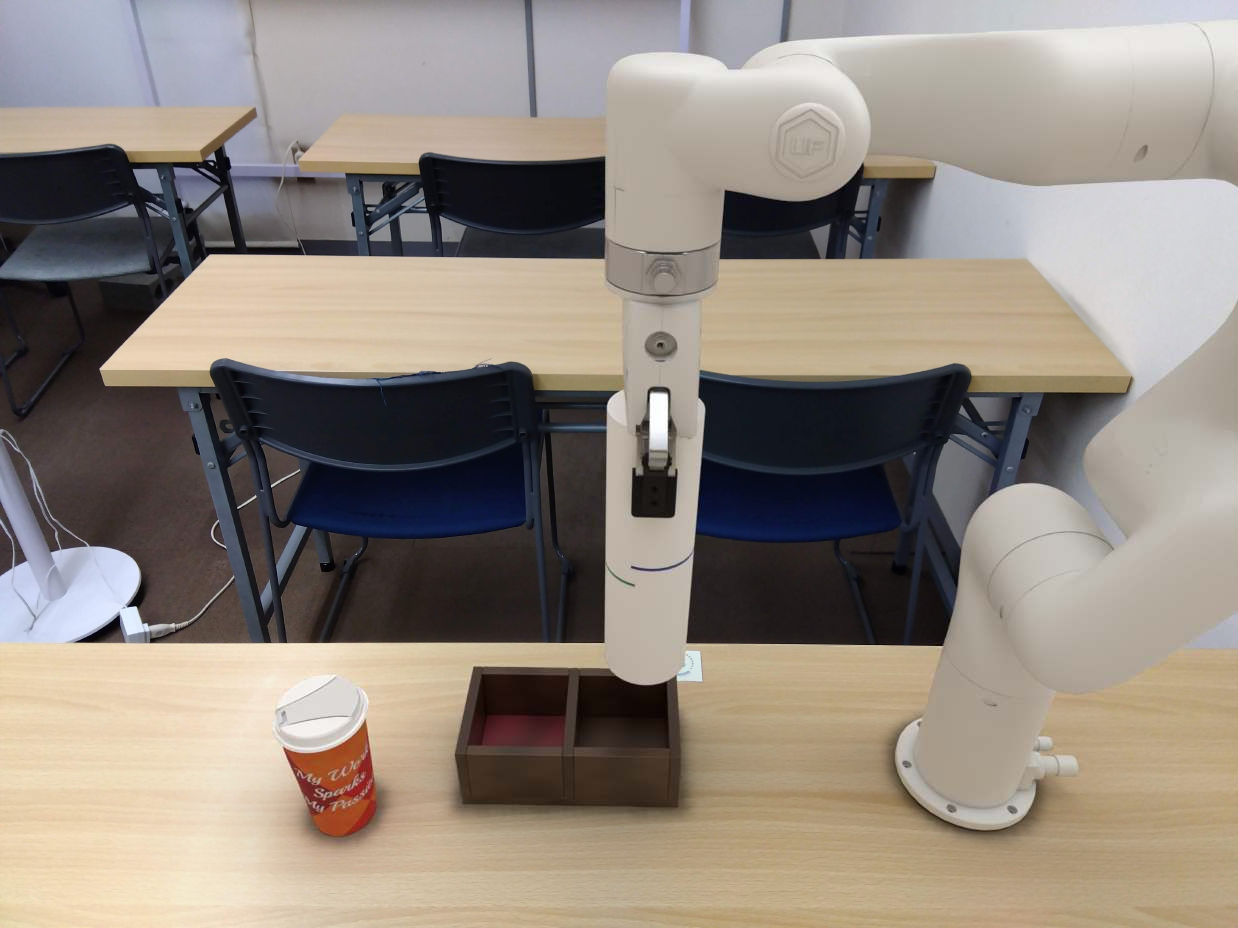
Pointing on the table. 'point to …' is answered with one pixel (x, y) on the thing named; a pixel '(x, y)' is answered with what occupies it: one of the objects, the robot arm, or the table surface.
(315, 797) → the paper cup
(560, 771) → the wooden compartment box
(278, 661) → the table surface
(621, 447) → the cylindrical container
